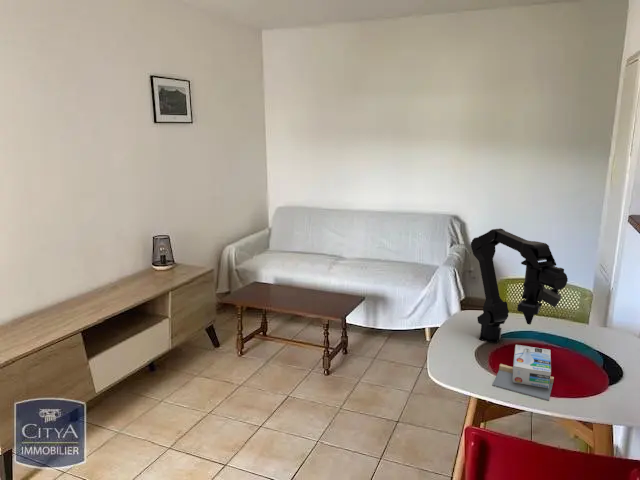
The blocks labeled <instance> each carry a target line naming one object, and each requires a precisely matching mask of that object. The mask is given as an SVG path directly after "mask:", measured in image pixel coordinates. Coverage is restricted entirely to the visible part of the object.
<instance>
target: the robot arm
mask: <svg viewBox="0 0 640 480" xmlns="http://www.w3.org/2000/svg"><path fill="white" fill-rule="evenodd" d="M499 244H501V245H504V246H506V247H509V248H510V249H512V250H514V251H517V252H518V253H519V254H520V257H522V258H524V259H523V261H521V262H520V264H521V265H523V266H525V273H524V274H525V275H524V282H523V284H522V288H523V291H522V292H523V293H522V295H521V299H522V300H520V301H519V302H518V303H517V307H516V308H517V310H516V311H517V312H520V313H522V314H523V316H524V319H525V322H526V324H527V325H530V326H531V324H532V322H533V319H534V317H535V315H539V313H540V310H541V308H542V305H543V303H542V301H543V302H544V303H547V304H548V305H550V306H551V307H554V308H556V307H557V306H558V304H559V302H560V301H561V299H562V295H561V293H559V291H561V290H563V289H564V288H565V287H566V285H567V284H568V280H569V278H568V276H567V274H566V272H565V269H564V268H563V267H558V266H557V262H556V261H555V260H556V259H555V257H554V256H553V253H552V251H551V249H550V246H549V244H547V243H546V242H541V241H537V240H536V241H535V240H527V239H525V238H522V237H521V236H517V235H515V234H513V233H511V232H508V231H506V230H505V229H503V228H493V229H490V230H489V231H487V232H485V233H483V234H481V235H479V236H477V237H474V238H473V239H472V240H471V242H470V247H471V252H472V254H473V256H474V257H475V259H477V261H478V262H479V263H478V264H479V269H480V275H481V279H482V280H481V281H482V285H483V291H484V296H485V297H484V298H485V301H484V304H483V306H482V310H483V313H481V314H480V315H479V316H477V323H478V324H480V336H479V337H478V339H479V340H480V341H485V342H489V343H494V344H497V343H498V342H499V341H500V340H501V336H502V327H501V325H504V324H505V322H506V320H507V319H508V318H509V313H510V310H509V307H508V302H507V301H503V300H502V298H501V297H500V291H499V286H498V281H497V280H498V279H497V275H496V270H495V264H494V263H495V262H494V257H495V254H496V246H498V245H499ZM545 286H546V287H549V288H546V287H545Z"/></svg>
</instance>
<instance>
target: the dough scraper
mask: <svg viewBox="0 0 640 480" xmlns="http://www.w3.org/2000/svg"><path fill="white" fill-rule="evenodd" d="M498 367H499V368H498V372H497V373H496V376H495V378H494V379H493V382H492V385H491V386H492V387H495V386H496V387H495V388H499V389H502V390H507V391H511V392H515V393H517V394H522V395H525V396H529V397H532V398H536V399H540V400H544V401H550V397H551V394H552V389H553V384H554V379H555V377H554V376H551V375H550V382H549V388H543V387H537V386H532V385H526V384H520V383H513V366H510V365H507V364H503V363H500V364H499V366H498Z"/></svg>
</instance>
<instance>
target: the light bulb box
mask: <svg viewBox="0 0 640 480" xmlns="http://www.w3.org/2000/svg"><path fill="white" fill-rule="evenodd" d="M551 355H552V354H551V349H549V348H548V349H547V348H539V347H533V346H528V345H523V344H522V345H521V344H515V346H514V355H513V363H512V365H513V366H512V367H513V383H520V384H526V385H532V386H537V387H543V388H549V382H550V376H551V375H552V358H551Z"/></svg>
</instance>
